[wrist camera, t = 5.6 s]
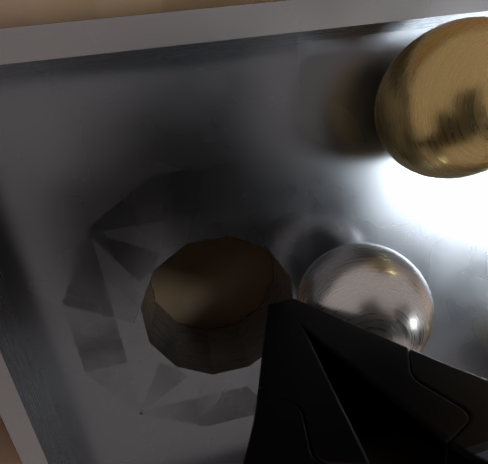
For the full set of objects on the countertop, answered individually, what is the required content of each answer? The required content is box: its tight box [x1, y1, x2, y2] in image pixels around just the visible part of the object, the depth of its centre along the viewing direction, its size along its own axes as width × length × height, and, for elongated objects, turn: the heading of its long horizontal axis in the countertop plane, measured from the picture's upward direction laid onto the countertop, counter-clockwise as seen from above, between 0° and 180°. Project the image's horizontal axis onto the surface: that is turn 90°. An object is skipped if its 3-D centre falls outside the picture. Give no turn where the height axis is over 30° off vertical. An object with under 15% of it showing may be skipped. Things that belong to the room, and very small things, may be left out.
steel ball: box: [297, 243, 435, 353], centre depth 9 cm, size 3×3×3 cm
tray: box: [0, 0, 488, 464], centre depth 12 cm, size 22×15×4 cm
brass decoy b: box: [374, 16, 488, 179], centre depth 8 cm, size 3×3×3 cm
